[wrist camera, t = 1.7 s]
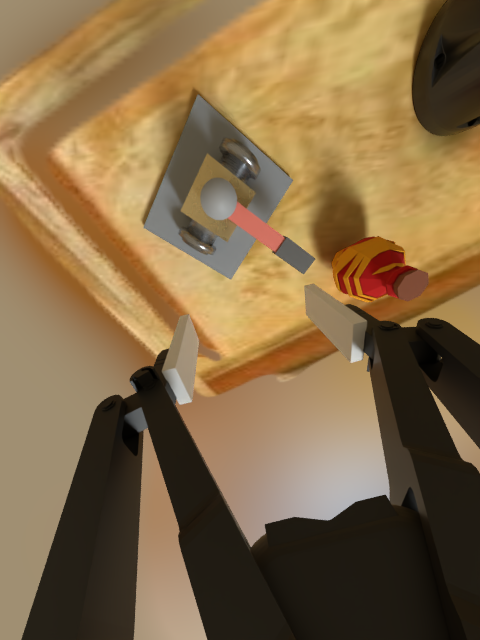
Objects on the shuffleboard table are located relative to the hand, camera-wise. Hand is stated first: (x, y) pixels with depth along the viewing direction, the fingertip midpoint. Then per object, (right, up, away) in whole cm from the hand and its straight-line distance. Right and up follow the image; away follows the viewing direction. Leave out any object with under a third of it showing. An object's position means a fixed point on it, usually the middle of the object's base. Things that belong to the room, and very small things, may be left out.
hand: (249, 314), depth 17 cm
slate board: (-4, +18, +15) cm, 23 cm away
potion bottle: (+19, +11, +22) cm, 31 cm away
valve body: (-4, +18, +15) cm, 23 cm away
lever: (+2, +11, +9) cm, 14 cm away
